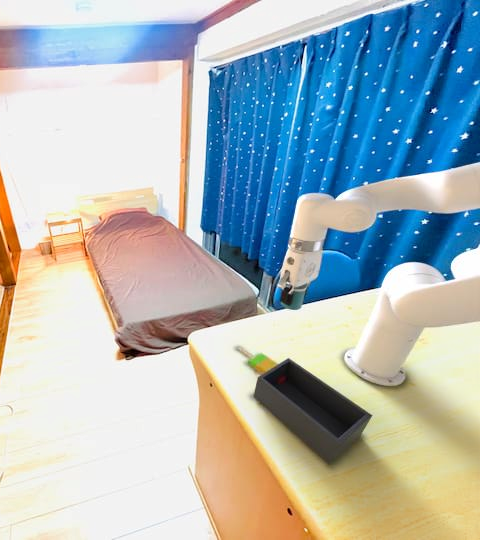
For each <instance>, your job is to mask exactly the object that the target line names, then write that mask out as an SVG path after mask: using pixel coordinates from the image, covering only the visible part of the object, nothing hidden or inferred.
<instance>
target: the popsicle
mask: <svg viewBox="0 0 480 540" xmlns="http://www.w3.org/2000/svg"><path fill="white" fill-rule="evenodd" d="M237 350H239V351H240V352H241V353H243V354H245V355H246V357H248V358H250V359H248V361H247V365H249V366H250V367H251V368H253V369H254V370H255V371H257V372H258V373H260V375H262V374H263V373H265V372H267V371H268V370H270V369H271V368H273V367H275V366H276V365H278V364H279V363H277V362H276V361H274V360H272V359H271V358H270V357H268V356H267V355H265V354H263V352H262V353H261V352H260V353H257V355H255V356H254V355H252V354H251V353H250V352H249V351H247V350H245V349H244V348H242V347H241V346H238V347H237ZM284 380H285V376H284V377H283V378H281V379H280V380H279V381H278V383H281V382H283V381H284Z"/></svg>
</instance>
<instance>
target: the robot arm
mask: <svg viewBox="0 0 480 540" xmlns="http://www.w3.org/2000/svg"><path fill="white" fill-rule="evenodd" d="M477 209H480V161H479V162H475V163H474V162H473V163H471V164H466V165H462V166H458V167H454V168H449V169H446V170H441V171H434V172H427V173H420V174H416V175H407V176H401V177H395V178H390V179H385V180H380V181H377V182H373V183H368V184H365V185H361V186H358V187H354V188H351V189H348V190H346V191H343V192H342V193H341V194H339V195H338V196H337V197H336V198H334V197H333V196H332V195H330V194H327V193H321V192H310V193H305V194H302V195H300V196H299V198H298V199H297V202H296V205H295V212H294V216H293V221H292V225H291V230H290V235H289V240H288V245H287V247H288V248H287V251H286V254H285V256H284V260H283V263H282V267H281V269H280V276H279V278H280V280H279V282H278V283H277V285H276V286H277V288H278V289H280V291H281V293H280V298H279V302H280V303H281V302H282V303H284V304H286V305H288V306H291V304H292V300H293V296H294V294H293V291H294V288H295V287H299V286H302V285H304V284H306V285H307V289H306V291H305V295H304V299H306V297H307V292H308V289H309V288H308V287H310V286H311V282H312V281H314V280H316V279H317V278H318V276H319V273H320V269H321V265H322V260H323V259H322V258H323V251H324V250H323V247H324V244H325V241H326V236H327V233H328V229H331V230H336V231H340V232H345V233H359V232H363V231H366V230H367V229H369V228H370V227H372V226H373V225H374V224H375V222H376V219H377V214H379V213H384V212H390V211H399V210H400V211H401V210H416V211H422V212H423V211H424V212H429V213H435V214H455V213H461V212H467V211H471V210H477ZM450 264H451V265H450V270H451V273H452V276H453V278H454V279H450V280H446V279H445V277H444V276H443V274H442V273H441V272H440V271H439V270H438V269H436V268H435V267H433V266H431V265H429V264H427V263H424V262H416V261H412V262H411V261H410V262H404V263H401V264H398V265H396V266H394V267H393V268H391V269H390V270H389V271H388V272H387V274H386V275H385V277H384V279H383V281H382V283H381V287H380V289H379V294H378V297H377V300H376V303H375V304H374V308H373V310H372V312H371V314H370V316H369V318H368V320H367V323H366V325H365V328H364V329H363V331H362V334H361V336H360V338H359V340H358V343H357V345H356V346H355V347H353V348H350V349H348V350H347V351H346V353H345V354H344V362H345V364H346V366H347V367H348V368H349V369H350V370H351V371H352V372H354V373H355V374H356V375H357V376H359V377H360V378H361V379H364V380H366V381H368V382H371V383H373V384H377V385H379V386H384V387H394V386H399V385H401V384H403V382H404V381H405V379H406V372H405V370H404V369H403V365H404V364H405V362H406V360H407V358H408V357H409V355H410V354H411V352H412V350H413V348H414V347H415V345H416V343H417V341H418V340H419V339H420V336H421V335H422V334H423V332H424V330H425V328H427V329H430V328H431V329H432V328H443V327H452V326H457V325H464V324H472V323H479V322H480V247H477V248H474V249H470V250H467V251H464V252H462V253H461V254H459V255H457V256H456V257H454V259H453V260H452V261H451V263H450ZM288 280H290V281H288ZM287 284H289V285H291V287H290V289H289V288H288V287H286V286H287ZM304 299H303V300H304Z"/></svg>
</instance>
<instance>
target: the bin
mask: <svg viewBox="0 0 480 540" xmlns="http://www.w3.org/2000/svg"><path fill="white" fill-rule="evenodd" d="M277 364H278V365H276V366H275V367H273V368H271V369H270V370H268V371H267V372H265V373H263V374H260V375H258V376H257V379H256V382H255V383H256V384H255V387H254V392H253V395H252V397H253V398H254V399H255V400H256V401H257V402H258V403H259V404H260V405H262V407H264V408H265V409H266V410H267V411H268V412H269V413H271V415H273V416H274V417H275V418H276V419H277V420H279V422H281V424H283V426H285V427H286V428H287V429H288V430H289V431H291V432H292V433H293V434H294V435H295V436H296V437H297V438H298V439H300V441H302V442H303V443H304V444H305V445H306V446H307V447H308V448H309V449H311V450H312V451H313V452H314V453H315V454H316V455H317V456H318V457H320V459H322V460H323V461H324V462H325V463H326V464H327V465H331V464H332V463H333V462H334V461H335V460H337V459H338V458H339V457H340V456H341V455H342V454H343V453H344V452H345V451H346V450H348V448H350V447H351V446H352V445H353V444H354V443H355V442H356V441H357V440H358V439H359V438H360V437H361V436H362V435H363V433H364V432H365V429H366V428H367V426H368V424H369V423H370V421H371V419H372V417H373V414H371V413H370V412H368V411H367V410H366V409H364V408H363V407H361V406H360V405H358V404H357V403H355V402H354V401H352V400H351V399H350V398H348V397H347V396H345V395H343V394H342V393H341V392H339V391H338V390H337V389H335V388H333V387H332V386H331V385H329V384H327V383H326V382H325V381H323V380H322V379H320V378H319V377H317V376H316V375H315V374H313V373H311V372H310V371H309V370H307V369H305V368H304V367H302V366H301V364H298V363H297V362H295V361H294V360H292V359H291V358H289V357H287V358H286V359H284V360H283V361H281V362H280V363H277ZM284 376H285V380H284V381H283V382H281V383H278V381H279V380H280V379H281V378H283V377H284Z"/></svg>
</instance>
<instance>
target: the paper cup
mask: <svg viewBox="0 0 480 540" xmlns="http://www.w3.org/2000/svg"><path fill="white" fill-rule="evenodd" d="M288 281H290V280H288ZM286 287H288V288H289V289H290V287H291V285H289V284H287V286H286ZM306 289H307V285H306V284H304V285H302V286H299V287H295V288H294V291H293V294H294V296H293V300H292V304H291V306H288V305H286V304H284V303H282V302H280V304H281V306H282V307H283V308H284V309H287V310H290V311H299V310H300V309H302V306H303V303H304V295H305V291H306ZM307 290H308V289H307Z"/></svg>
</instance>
